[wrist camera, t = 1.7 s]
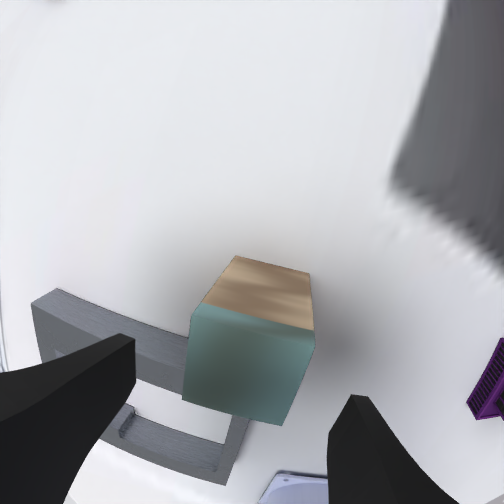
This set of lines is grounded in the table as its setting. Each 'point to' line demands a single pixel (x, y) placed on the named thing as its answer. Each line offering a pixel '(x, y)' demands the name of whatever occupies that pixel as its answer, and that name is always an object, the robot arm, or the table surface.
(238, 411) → the plug block
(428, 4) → the table surface
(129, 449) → the keyhole plate
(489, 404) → the building model
